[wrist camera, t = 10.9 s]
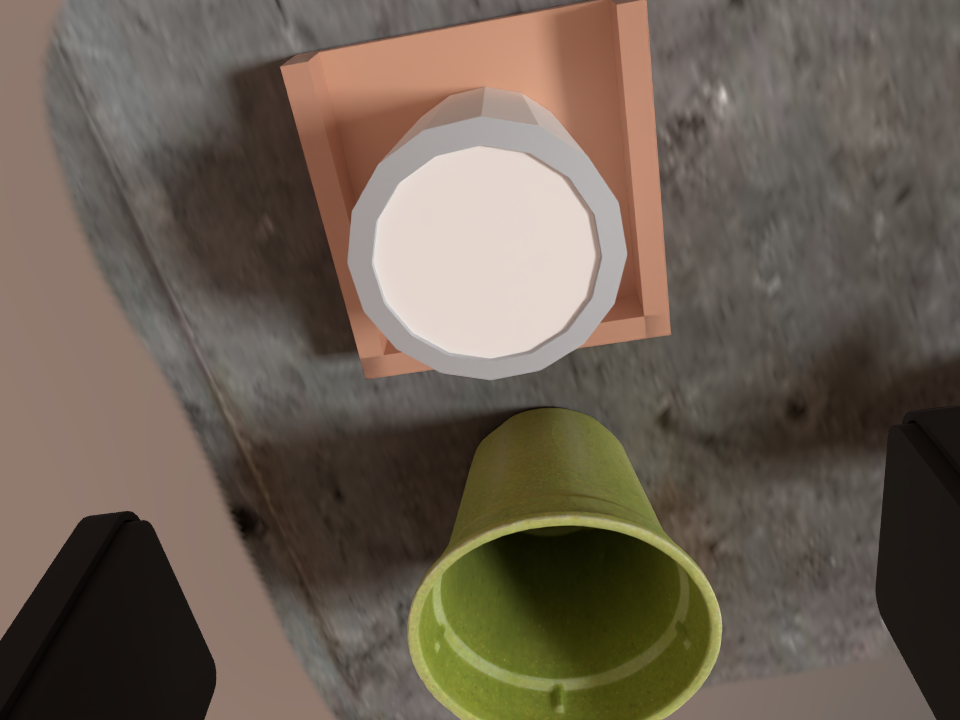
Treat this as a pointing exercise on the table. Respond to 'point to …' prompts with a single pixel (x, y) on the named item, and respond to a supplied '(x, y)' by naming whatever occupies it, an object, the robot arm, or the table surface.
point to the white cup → (487, 239)
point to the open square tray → (508, 66)
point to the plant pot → (561, 586)
